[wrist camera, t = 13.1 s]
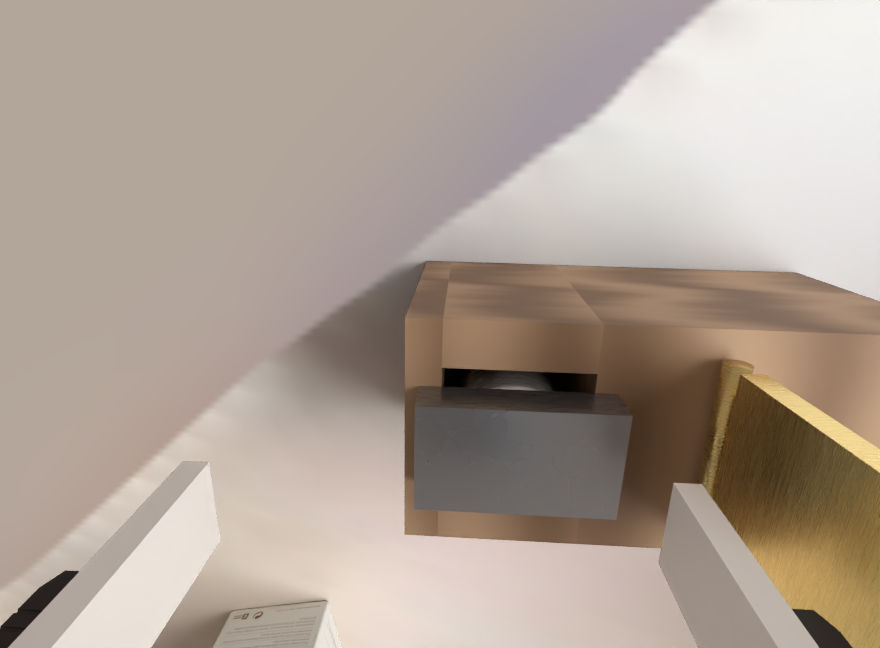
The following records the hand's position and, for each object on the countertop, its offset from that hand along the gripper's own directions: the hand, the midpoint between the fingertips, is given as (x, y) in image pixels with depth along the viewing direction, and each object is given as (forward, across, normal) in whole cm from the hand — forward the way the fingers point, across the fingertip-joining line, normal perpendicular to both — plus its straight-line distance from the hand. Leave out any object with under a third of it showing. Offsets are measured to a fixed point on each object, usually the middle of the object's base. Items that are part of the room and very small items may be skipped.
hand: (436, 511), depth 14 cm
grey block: (+14, +3, 0) cm, 14 cm away
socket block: (+14, +8, 0) cm, 16 cm away
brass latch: (+4, +10, 0) cm, 10 cm away
